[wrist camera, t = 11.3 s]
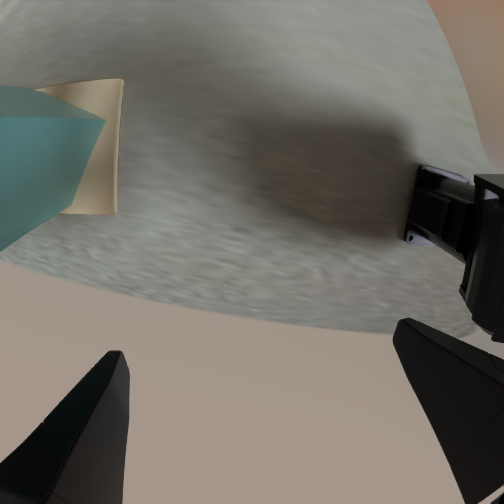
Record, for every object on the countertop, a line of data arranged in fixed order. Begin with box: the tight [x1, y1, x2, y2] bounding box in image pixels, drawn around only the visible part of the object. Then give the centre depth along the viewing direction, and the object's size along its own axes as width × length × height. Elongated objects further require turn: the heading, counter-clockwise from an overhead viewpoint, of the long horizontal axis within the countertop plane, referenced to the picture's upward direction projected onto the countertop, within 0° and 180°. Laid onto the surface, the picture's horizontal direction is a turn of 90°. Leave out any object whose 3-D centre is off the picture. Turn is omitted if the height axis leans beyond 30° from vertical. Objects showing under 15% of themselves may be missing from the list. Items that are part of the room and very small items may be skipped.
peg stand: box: [34, 78, 124, 215], centre depth 15 cm, size 10×9×4 cm
